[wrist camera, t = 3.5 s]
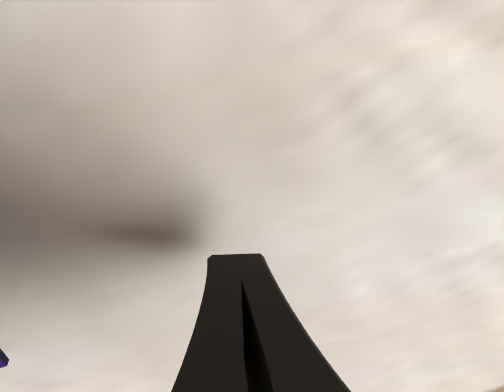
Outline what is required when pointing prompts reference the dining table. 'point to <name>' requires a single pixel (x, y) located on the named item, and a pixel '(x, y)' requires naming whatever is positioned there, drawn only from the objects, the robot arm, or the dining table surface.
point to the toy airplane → (3, 359)
